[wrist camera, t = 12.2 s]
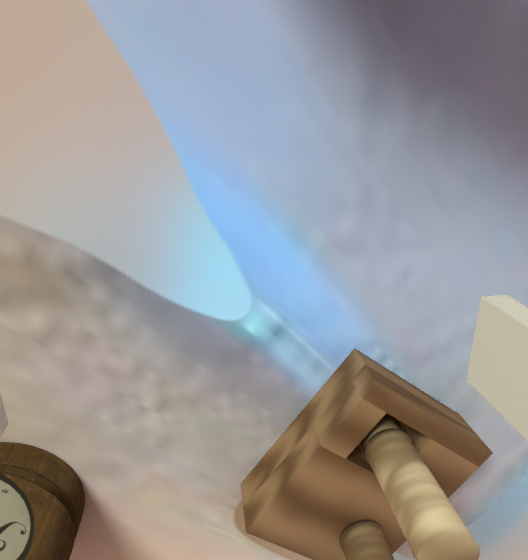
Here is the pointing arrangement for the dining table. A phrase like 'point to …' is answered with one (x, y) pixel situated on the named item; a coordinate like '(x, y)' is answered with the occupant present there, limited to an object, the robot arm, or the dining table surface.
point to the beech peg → (416, 496)
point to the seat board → (351, 465)
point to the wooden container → (37, 504)
